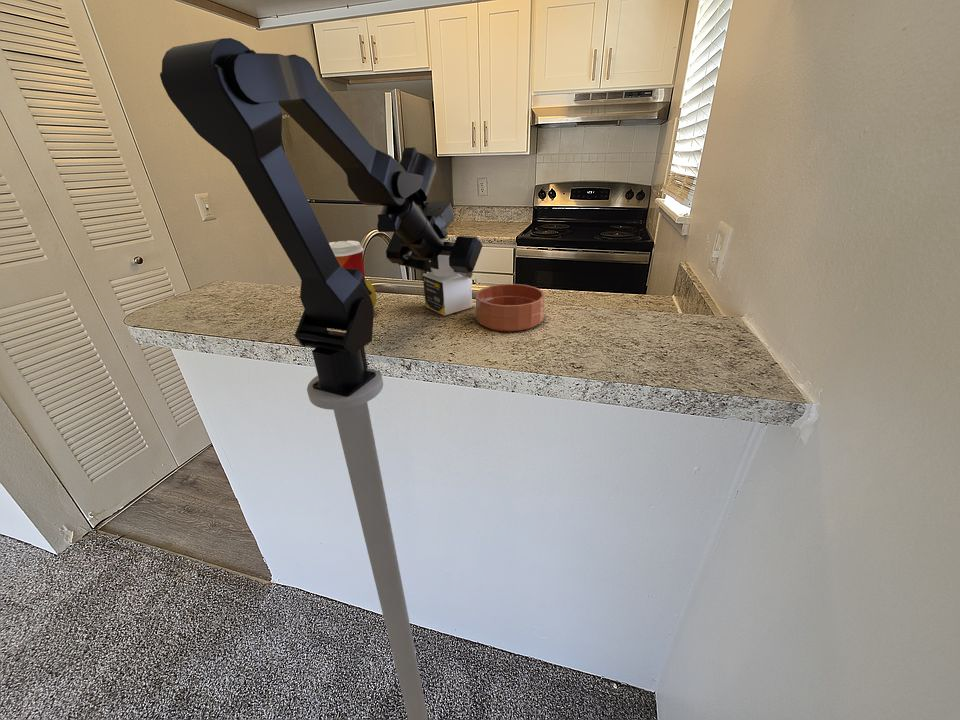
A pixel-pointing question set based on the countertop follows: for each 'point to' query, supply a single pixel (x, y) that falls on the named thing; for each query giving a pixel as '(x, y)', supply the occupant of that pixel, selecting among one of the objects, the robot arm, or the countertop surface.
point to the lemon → (371, 288)
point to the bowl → (510, 307)
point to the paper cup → (349, 254)
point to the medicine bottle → (446, 288)
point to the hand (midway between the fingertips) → (451, 273)
